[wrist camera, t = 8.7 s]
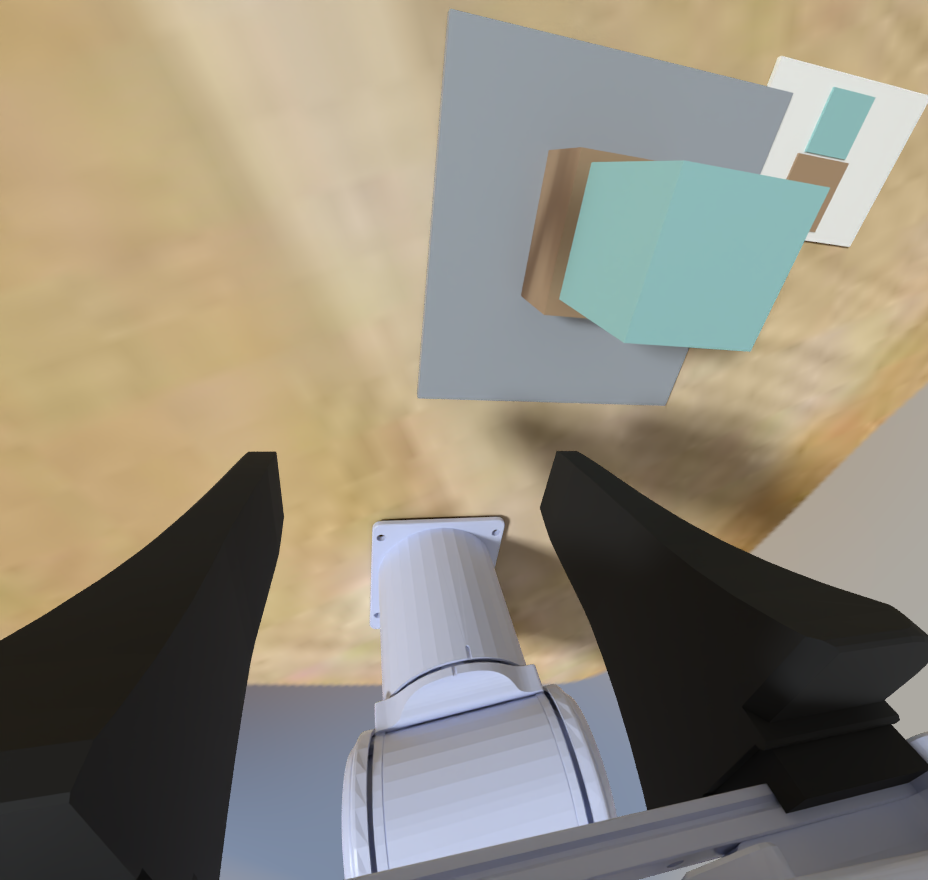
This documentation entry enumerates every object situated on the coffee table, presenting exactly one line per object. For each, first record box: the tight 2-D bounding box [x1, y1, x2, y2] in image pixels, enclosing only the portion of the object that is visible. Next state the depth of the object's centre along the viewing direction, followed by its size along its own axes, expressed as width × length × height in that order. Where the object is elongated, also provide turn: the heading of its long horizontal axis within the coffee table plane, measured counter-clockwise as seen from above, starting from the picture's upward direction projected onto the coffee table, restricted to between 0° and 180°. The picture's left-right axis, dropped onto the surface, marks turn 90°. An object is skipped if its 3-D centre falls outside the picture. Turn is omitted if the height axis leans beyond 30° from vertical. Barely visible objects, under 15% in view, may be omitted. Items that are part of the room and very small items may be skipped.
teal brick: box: [559, 160, 830, 351], centre depth 14 cm, size 4×4×5 cm
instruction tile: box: [760, 56, 928, 247], centre depth 19 cm, size 6×8×1 cm
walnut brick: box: [521, 147, 655, 318], centre depth 17 cm, size 6×6×3 cm
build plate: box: [417, 9, 793, 406], centre depth 19 cm, size 14×14×1 cm
